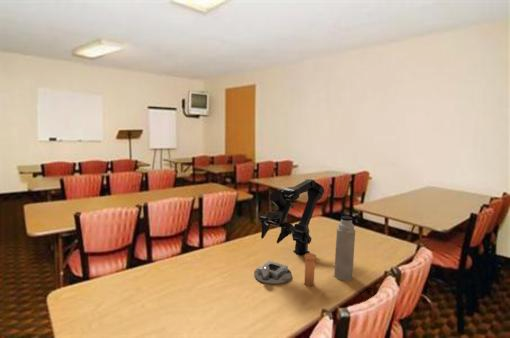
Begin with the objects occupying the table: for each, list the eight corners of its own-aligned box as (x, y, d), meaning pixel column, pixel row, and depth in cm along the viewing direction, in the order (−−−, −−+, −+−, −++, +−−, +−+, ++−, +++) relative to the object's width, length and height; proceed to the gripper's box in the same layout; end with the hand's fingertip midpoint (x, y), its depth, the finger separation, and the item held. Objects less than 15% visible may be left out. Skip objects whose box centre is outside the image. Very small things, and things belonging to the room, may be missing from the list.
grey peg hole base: (265, 264, 158) (266, 251, 157) (297, 273, 149) (298, 259, 148) (247, 277, 143) (247, 264, 142) (280, 288, 134) (281, 273, 134)
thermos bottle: (335, 271, 151) (338, 213, 147) (352, 274, 149) (356, 215, 145) (333, 278, 144) (336, 218, 140) (351, 282, 141) (355, 220, 137)
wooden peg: (308, 280, 142) (310, 252, 140) (317, 284, 138) (318, 256, 136) (301, 283, 139) (302, 254, 137) (309, 287, 135) (310, 258, 134)
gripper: (259, 200, 156) (245, 229, 151) (291, 207, 144) (277, 238, 139) (270, 210, 164) (257, 238, 158) (301, 218, 152) (288, 248, 146)
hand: (269, 240), depth 150 cm, fingers open, 9 cm apart
